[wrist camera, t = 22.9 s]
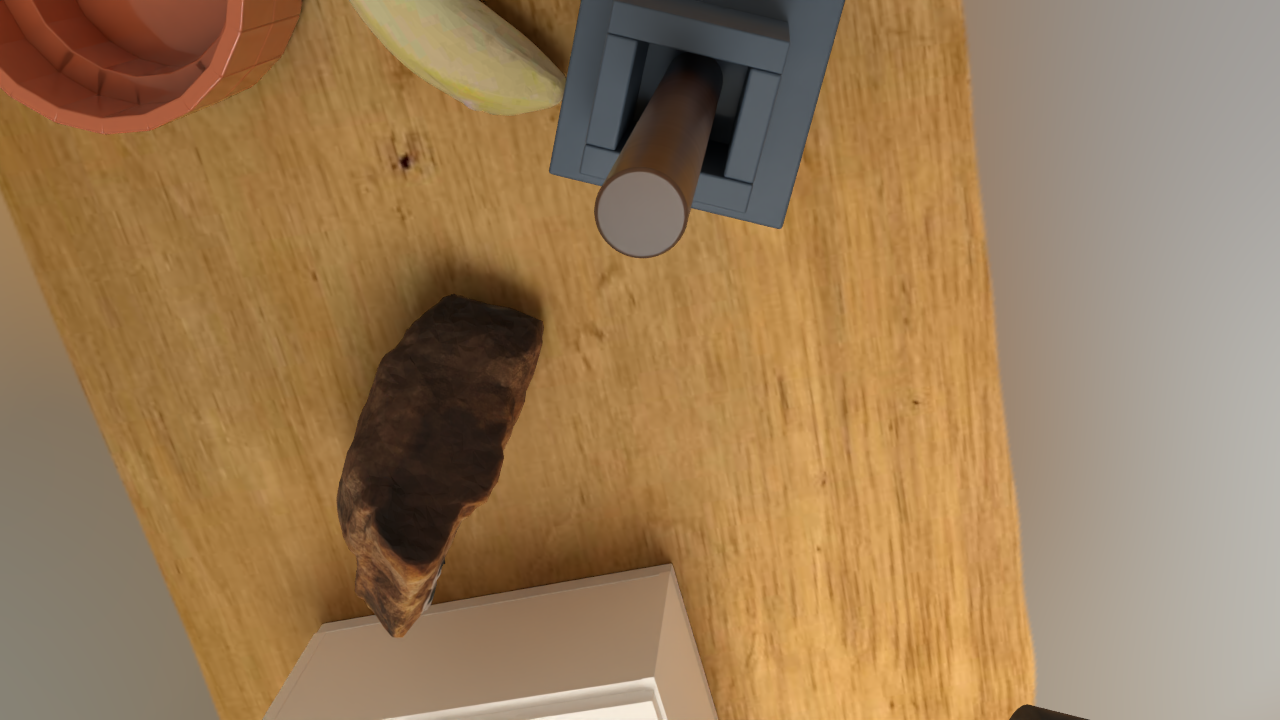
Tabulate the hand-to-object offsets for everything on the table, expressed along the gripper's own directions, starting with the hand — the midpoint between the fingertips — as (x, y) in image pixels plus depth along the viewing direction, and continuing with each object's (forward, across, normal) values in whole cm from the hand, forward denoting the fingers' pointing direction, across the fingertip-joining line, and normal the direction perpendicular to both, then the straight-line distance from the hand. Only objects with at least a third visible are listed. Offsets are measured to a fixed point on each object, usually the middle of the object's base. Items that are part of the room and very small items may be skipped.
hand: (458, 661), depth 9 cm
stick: (+26, 0, 0) cm, 26 cm away
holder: (+38, 0, 0) cm, 38 cm away
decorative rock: (+38, +7, +18) cm, 43 cm away
